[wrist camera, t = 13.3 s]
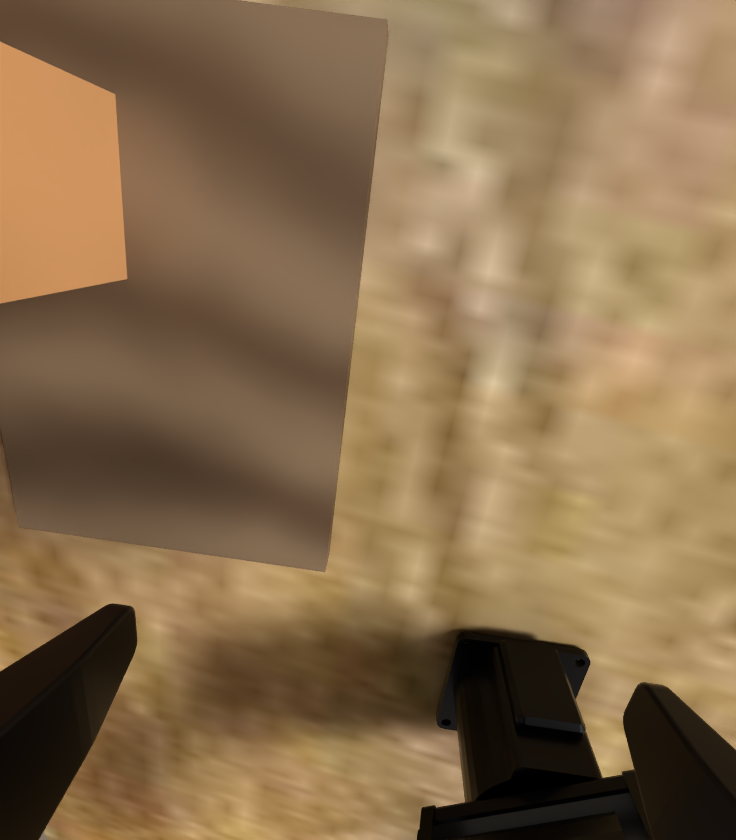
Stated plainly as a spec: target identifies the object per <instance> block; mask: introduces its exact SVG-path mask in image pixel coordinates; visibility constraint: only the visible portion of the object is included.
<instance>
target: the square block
mask: <svg viewBox="0 0 736 840" xmlns="http://www.w3.org/2000/svg"><path fill="white" fill-rule="evenodd" d="M125 279H127V266H126V251H125V236H124V220H123V205H122V190H121V174H120V159H119V144H118V128H117V113H116V98H115V94H114V93H111V92H109V91H107V90H105V89H103V88H100V87H98V86H96V85H94V84H92V83H90V82H87V81H85V80H83V79H81V78H79V77H76V76H74V75H72V74H70V73H68V72H65V71H63V70H61V69H59V68H57V67H55V66H52V65H50V64H48V63H46V62H44V61H41V60H39V59H37V58H35V57H33V56H31V55H28V54H26V53H24V52H22V51H20V50H17V49H15V48H13V47H11V46H9V45H7V44H4V43H2V42H0V304H1V303H6V302H11V301H16V300H21V299H26V298H32V297H37V296H42V295H47V294H52V293H58V292H63V291H68V290H73V289H78V288H83V287H89V286H94V285H99V284H104V283H109V282H115V281H120V280H125Z"/></svg>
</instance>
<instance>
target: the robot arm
mask: <svg viewBox="0 0 736 840" xmlns="http://www.w3.org/2000/svg"><path fill="white" fill-rule="evenodd" d="M464 643H468V644H464ZM136 646H137V629H136V617H135V610H134V609H133V607H131V606H127V605H120V604H109V605H106V606H104V607H103V608H101V609H99V610H98V611H96V612H95V613H93V614H91V615H90V616H88V617H87V618H85V619H83V620H82V621H80V622H79V623H77V624H76V625H74V626H72V627H71V628H69V629H68V630H66V631H64V632H63V633H61V634H60V635H58V636H56V637H55V638H53V639H52V640H50V641H48V642H47V643H45V644H44V645H42V646H40V647H39V648H37V649H36V650H34V651H32V652H31V653H29V654H28V655H26V656H24V657H23V658H21V659H20V660H18V661H16V662H15V663H13V664H12V665H10V666H8V667H7V668H5V669H4V670H2V671H0V840H39V838H40V837H41V835H42V833H43V831H44V830H45V828H46V826H47V824H48V823H49V821H50V819H51V817H52V816H53V814H54V812H55V810H56V809H57V807H58V805H59V803H60V802H61V800H62V798H63V796H64V795H65V793H66V791H67V789H68V788H69V786H70V784H71V782H72V781H73V779H74V777H75V775H76V774H77V772H78V770H79V768H80V767H81V765H82V763H83V761H84V760H85V758H86V756H87V754H88V752H89V750H90V748H91V747H92V745H93V743H94V741H95V739H96V736H97V734H98V732H99V730H100V728H101V726H102V724H103V721H104V719H105V717H106V715H107V713H108V710H109V708H110V706H111V704H112V702H113V699H114V697H115V695H116V693H117V691H118V688H119V686H120V684H121V682H122V680H123V677H124V675H125V673H126V671H127V669H128V666H129V664H130V662H131V660H132V658H133V655H134V653H135V650H136ZM578 659H579V660H578ZM589 666H590V660H589V657H588V655H587V653H586V651H584V650H582V649H578V648H571V647H564V646H557V645H551V644H544V643H537V642H530V641H524V640H517V639H510V638H503V637H496V636H490V635H483V634H476V633H469V632H464V633H461V634H459V635H458V636H457V638H456V641H455V645H454V649H453V652H452V656H451V660H450V664H449V668H448V671H447V675H446V679H445V683H444V687H443V691H442V694H441V698H440V702H439V706H438V710H437V713H436V718H437V725H438V726H439V727H441V728H443V729H449V730H456V731H457V732H458V741H459V750H460V760H461V769H462V778H463V787H464V797H465V803H459V804H454V805H448V806H442V807H437V808H436V806H435V805H432V806H427V807H422V809H421V819H420V829H419V830H418V834H417V840H736V750H735V749H734V748H733V747H732V746H731V745H730V744H729V743H728V742H727V741H726V740H724V739H723V738H722V737H721V736H720V735H719V734H718V733H717V732H716V731H715V730H714V729H712V728H711V727H710V726H709V725H708V724H707V723H706V722H705V721H704V720H703V719H702V718H701V717H699V716H698V715H697V714H696V713H695V712H694V711H693V710H692V709H691V708H690V707H689V706H688V705H686V704H685V703H684V702H683V701H682V700H681V699H680V698H679V697H678V696H677V695H676V694H675V693H673V692H672V691H671V690H670V689H669V688H667V687H666V686H663V685H659V684H653V683H646V682H642V683H640V684H638V685H637V687H636V689H635V691H634V693H633V695H632V697H631V699H630V701H629V703H628V705H627V707H626V709H625V712H624V716H623V725H624V731H625V735H626V738H627V742H628V746H629V750H630V754H631V758H632V762H633V766H634V770H628V771H623V772H622V775H617V776H611V777H606V778H602V775H601V772H600V769H599V766H598V764H597V761H596V758H595V755H594V753H593V750H592V747H591V744H590V742H589V739H588V736H587V733H586V731H585V730H586V729H585V724H584V722H583V719H582V716H581V713H580V711H579V708H578V705H577V702H576V700H575V699H576V697H577V694H578V692H579V690H580V687H581V685H582V683H583V680H584V678H585V675H586V673H587V671H588V668H589Z"/></svg>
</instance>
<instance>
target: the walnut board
mask: <svg viewBox="0 0 736 840" xmlns="http://www.w3.org/2000/svg"><path fill="white" fill-rule="evenodd" d="M0 42H2V43H4V44H7V45H9V46H11V47H13V48H15V49H17V50H20V51H22V52H24V53H26V54H28V55H31V56H33V57H35V58H37V59H39V60H41V61H44V62H46V63H48V64H50V65H52V66H55V67H57V68H59V69H61V70H63V71H65V72H68V73H70V74H72V75H74V76H76V77H79V78H81V79H83V80H85V81H87V82H90V83H92V84H94V85H96V86H98V87H100V88H103V89H105V90H107V91H109V92H111V93H114V94H115V98H116V113H117V128H118V144H119V159H120V174H121V190H122V205H123V220H124V236H125V251H126V266H127V279H125V280H120V281H115V282H109V283H104V284H99V285H94V286H89V287H83V288H78V289H73V290H68V291H63V292H58V293H52V294H47V295H42V296H37V297H32V298H26V299H21V300H16V301H11V302H6V303H1V304H0V429H1V435H2V440H3V445H4V451H5V456H6V461H7V467H8V472H9V477H10V483H11V488H12V493H13V499H14V504H15V509H16V515H17V520H18V525H19V527H20V528H27V529H34V530H41V531H48V532H55V533H61V534H68V535H75V536H82V537H89V538H96V539H102V540H109V541H116V542H123V543H130V544H137V545H143V546H150V547H157V548H164V549H171V550H178V551H184V552H191V553H198V554H205V555H212V556H219V557H225V558H232V559H239V560H246V561H253V562H260V563H266V564H273V565H280V566H287V567H294V568H301V569H307V570H314V571H321V572H325V570H326V566H327V561H328V557H329V550H330V541H331V532H332V524H333V515H334V506H335V498H336V489H337V480H338V471H339V463H340V454H341V445H342V436H343V428H344V419H345V410H346V401H347V393H348V384H349V375H350V366H351V358H352V349H353V340H354V331H355V323H356V314H357V305H358V297H359V288H360V279H361V270H362V262H363V253H364V244H365V235H366V227H367V218H368V209H369V200H370V192H371V183H372V174H373V165H374V157H375V148H376V139H377V130H378V122H379V113H380V104H381V95H382V87H383V78H384V69H385V61H386V52H387V43H388V23H387V20H386V19H379V18H371V17H363V16H355V15H348V14H340V13H332V12H324V11H317V10H309V9H301V8H293V7H285V6H278V5H270V4H262V3H254V2H247V1H239V0H0Z"/></svg>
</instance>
